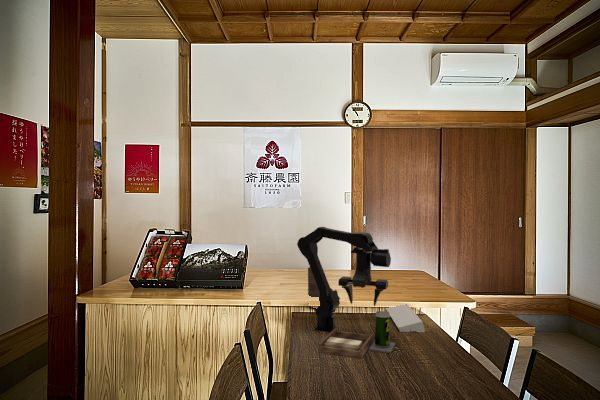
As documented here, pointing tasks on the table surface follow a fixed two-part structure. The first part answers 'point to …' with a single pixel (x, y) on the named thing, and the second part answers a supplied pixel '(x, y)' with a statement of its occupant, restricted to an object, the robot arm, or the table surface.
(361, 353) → the wooden tray
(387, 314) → the beer can
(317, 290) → the dark brown tall block
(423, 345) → the table surface
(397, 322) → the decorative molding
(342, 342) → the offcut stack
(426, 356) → the table surface
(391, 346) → the grey rubber mat
